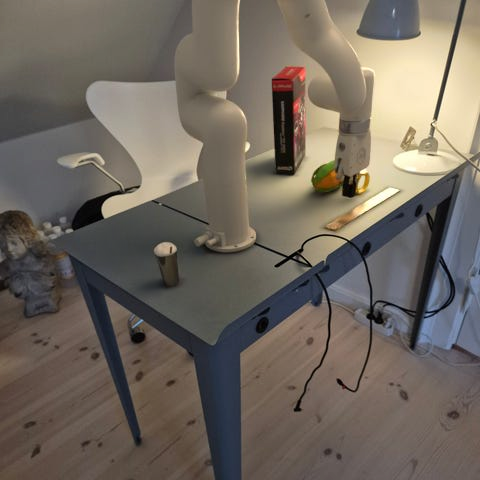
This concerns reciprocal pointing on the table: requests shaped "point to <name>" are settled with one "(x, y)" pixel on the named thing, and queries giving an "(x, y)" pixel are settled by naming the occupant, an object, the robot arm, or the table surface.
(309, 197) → the table surface
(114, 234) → the table surface
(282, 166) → the graphics card box
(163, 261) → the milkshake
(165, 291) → the table surface
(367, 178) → the watch
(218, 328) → the table surface
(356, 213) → the ruler
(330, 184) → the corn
